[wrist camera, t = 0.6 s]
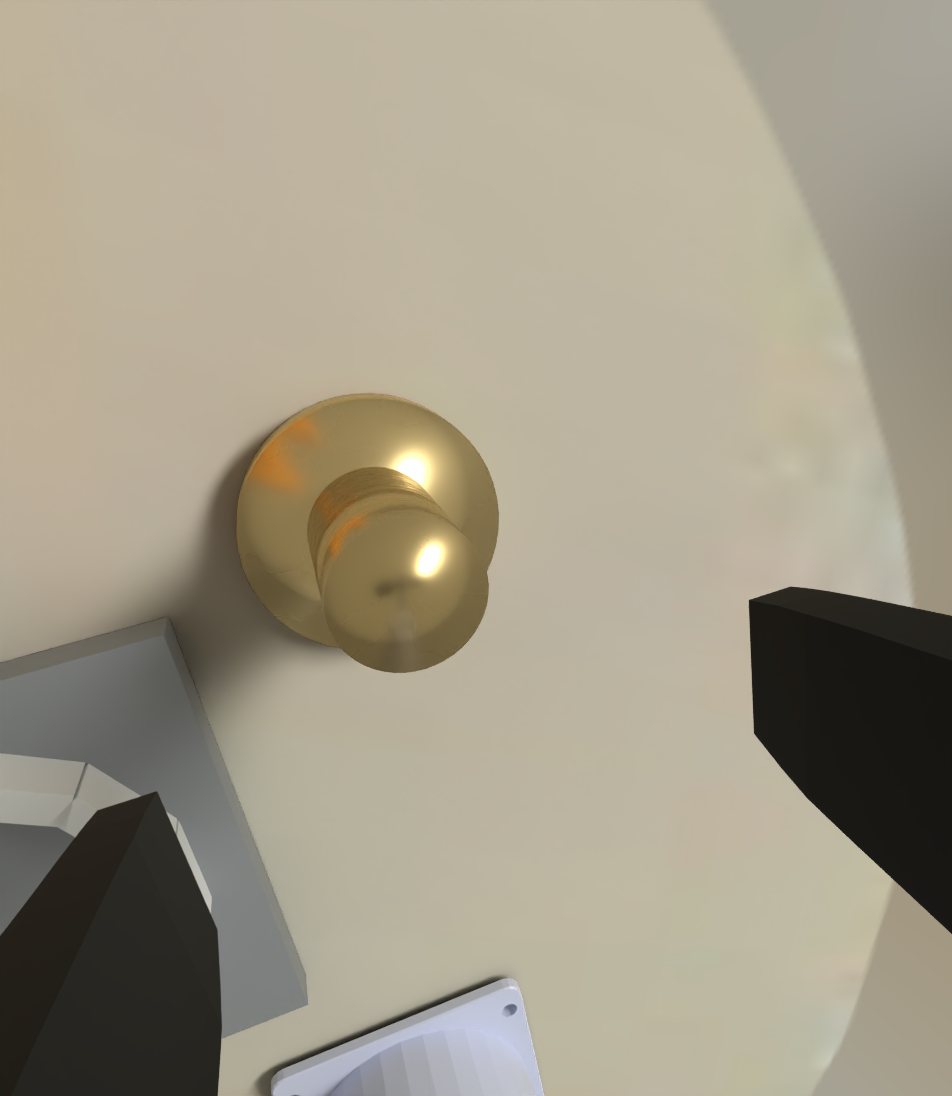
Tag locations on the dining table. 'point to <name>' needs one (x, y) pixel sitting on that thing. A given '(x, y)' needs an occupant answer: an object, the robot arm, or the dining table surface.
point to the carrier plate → (138, 794)
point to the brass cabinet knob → (370, 530)
